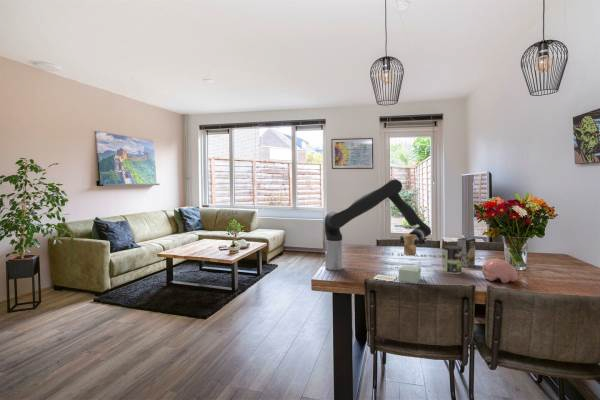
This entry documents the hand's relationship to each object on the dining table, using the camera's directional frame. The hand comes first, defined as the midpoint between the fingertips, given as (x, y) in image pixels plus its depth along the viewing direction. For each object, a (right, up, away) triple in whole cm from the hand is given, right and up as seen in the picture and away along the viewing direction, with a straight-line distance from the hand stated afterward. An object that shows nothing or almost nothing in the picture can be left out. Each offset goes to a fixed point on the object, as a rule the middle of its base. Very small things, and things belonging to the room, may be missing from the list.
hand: (409, 242), depth 164 cm
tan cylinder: (+1, -6, +3) cm, 7 cm away
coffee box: (+44, -18, +29) cm, 55 cm away
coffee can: (+29, -19, +17) cm, 39 cm away
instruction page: (-11, -20, +6) cm, 23 cm away
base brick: (+1, -20, +3) cm, 20 cm away
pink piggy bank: (+46, -20, 0) cm, 50 cm away
